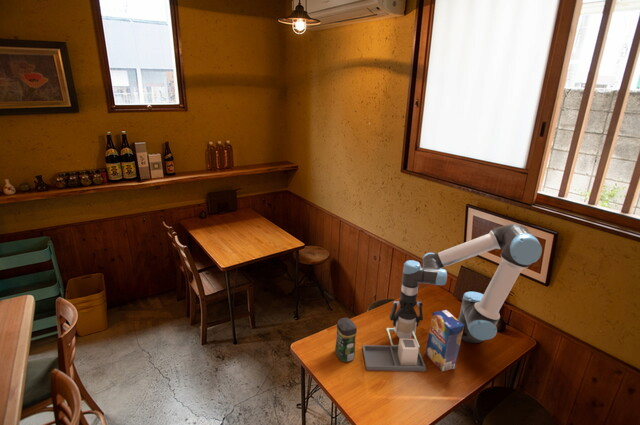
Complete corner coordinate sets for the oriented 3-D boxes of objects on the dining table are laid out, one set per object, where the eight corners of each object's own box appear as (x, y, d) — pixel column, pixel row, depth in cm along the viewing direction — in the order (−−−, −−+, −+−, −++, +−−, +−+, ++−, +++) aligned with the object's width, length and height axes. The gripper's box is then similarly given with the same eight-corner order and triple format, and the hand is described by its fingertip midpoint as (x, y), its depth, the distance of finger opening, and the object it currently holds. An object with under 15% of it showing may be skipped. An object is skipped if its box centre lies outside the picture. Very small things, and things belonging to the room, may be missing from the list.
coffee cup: (413, 342, 171) (417, 316, 166) (394, 339, 172) (397, 314, 167) (413, 330, 179) (416, 305, 174) (395, 328, 181) (397, 303, 176)
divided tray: (416, 351, 169) (417, 346, 168) (425, 373, 156) (426, 367, 155) (362, 350, 168) (362, 344, 167) (366, 371, 156) (366, 366, 155)
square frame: (412, 330, 183) (412, 328, 183) (419, 349, 170) (419, 346, 170) (386, 330, 183) (386, 327, 182) (391, 348, 170) (391, 346, 170)
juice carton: (455, 369, 159) (464, 325, 151) (441, 373, 156) (450, 328, 148) (438, 351, 169) (446, 309, 161) (425, 355, 167) (432, 312, 159)
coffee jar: (332, 350, 167) (334, 317, 161) (347, 346, 170) (349, 314, 164) (341, 364, 159) (344, 330, 153) (356, 360, 162) (360, 326, 156)
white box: (412, 354, 166) (414, 338, 162) (416, 365, 159) (418, 348, 156) (397, 354, 165) (399, 337, 162) (400, 365, 159) (403, 348, 156)
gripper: (429, 287, 171) (423, 326, 179) (385, 287, 171) (382, 326, 178) (433, 296, 164) (428, 336, 171) (388, 296, 164) (384, 336, 171)
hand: (404, 331), depth 175 cm, fingers closed on coffee cup, 8 cm apart
